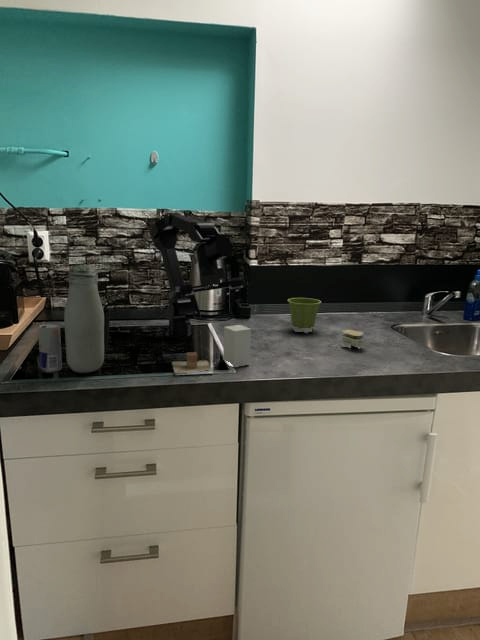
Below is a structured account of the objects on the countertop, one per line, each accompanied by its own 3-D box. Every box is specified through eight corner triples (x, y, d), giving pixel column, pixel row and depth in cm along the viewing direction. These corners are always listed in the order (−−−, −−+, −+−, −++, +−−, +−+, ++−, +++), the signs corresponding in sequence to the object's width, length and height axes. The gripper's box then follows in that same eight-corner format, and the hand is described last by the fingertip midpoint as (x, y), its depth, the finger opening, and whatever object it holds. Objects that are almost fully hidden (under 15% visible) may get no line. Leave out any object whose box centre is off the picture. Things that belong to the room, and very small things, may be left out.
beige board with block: (171, 364, 145) (171, 348, 144) (207, 363, 147) (207, 347, 146) (174, 376, 136) (175, 360, 135) (212, 374, 138) (213, 358, 137)
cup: (116, 348, 158) (115, 310, 156) (102, 355, 151) (100, 315, 149) (94, 345, 161) (93, 307, 158) (79, 351, 154) (78, 312, 151)
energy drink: (43, 366, 140) (41, 323, 138) (64, 366, 141) (62, 323, 138) (38, 372, 135) (35, 328, 132) (59, 372, 136) (56, 328, 133)
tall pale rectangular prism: (223, 362, 148) (224, 326, 145) (238, 360, 151) (239, 324, 149) (233, 368, 144) (234, 331, 141) (249, 365, 147) (250, 328, 144)
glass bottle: (70, 380, 131) (65, 269, 124) (63, 367, 140) (58, 264, 133) (109, 374, 135) (106, 268, 129) (100, 363, 144) (97, 262, 138)
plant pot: (324, 330, 187) (326, 300, 185) (310, 337, 178) (312, 305, 175) (295, 325, 193) (296, 296, 191) (280, 332, 184) (281, 300, 181)
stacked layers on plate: (331, 348, 167) (332, 331, 166) (346, 343, 173) (347, 327, 172) (358, 355, 160) (360, 338, 159) (373, 349, 167) (374, 333, 165)
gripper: (174, 264, 146) (182, 319, 145) (240, 255, 147) (248, 309, 146) (177, 269, 157) (184, 320, 156) (238, 260, 158) (246, 311, 157)
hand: (215, 315), depth 154 cm, fingers open, 9 cm apart
